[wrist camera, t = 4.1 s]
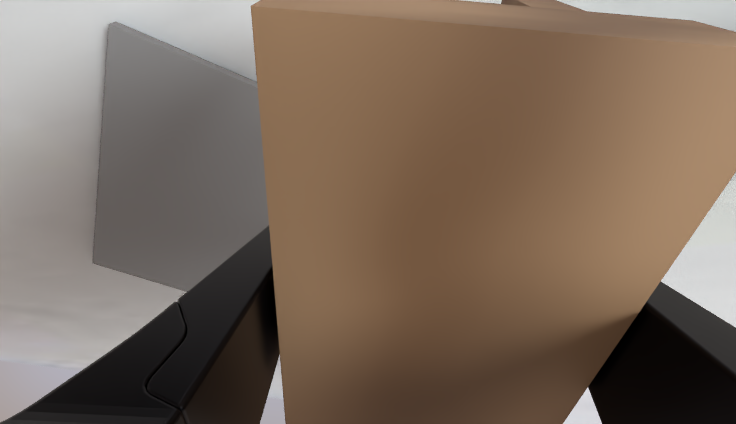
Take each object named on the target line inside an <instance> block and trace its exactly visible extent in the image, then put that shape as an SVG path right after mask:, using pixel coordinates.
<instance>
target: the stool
mask: <svg viewBox="0 0 736 424" xmlns="http://www.w3.org/2000/svg"><path fill="white" fill-rule="evenodd" d="M251 15H252V27H253V39H254V51H255V63H256V75H257V87H258V99H259V110H260V122H261V134H262V146H263V158H264V170H265V182H266V194H267V206H268V218H269V230H270V242H271V254H272V266H273V278H274V290H275V302H276V314H277V326H278V338H279V350H280V362H281V374H282V386H283V398H284V410H285V421H286V424H563V422H564V421H565V420H566V418H567V417H568V415H569V414H570V412H571V411H572V409H573V408H574V406H575V405H576V404H577V402H578V401H579V399H580V398H581V396H582V395H583V393H584V392H585V390H586V389H587V388H588V386H589V385H590V383H591V382H592V380H593V379H594V377H595V376H596V374H597V373H598V372H599V370H600V369H601V367H602V366H603V364H604V363H605V361H606V360H607V358H608V357H609V356H610V354H611V353H612V351H613V350H614V348H615V347H616V345H617V344H618V342H619V341H620V340H621V338H622V337H623V335H624V334H625V332H626V331H627V329H628V328H629V326H630V325H631V324H632V322H633V321H634V319H635V318H636V316H637V315H638V313H639V312H640V310H641V309H642V307H643V306H644V305H645V303H646V302H647V300H648V299H649V297H650V296H651V294H652V293H653V291H654V290H655V289H656V287H657V286H658V284H659V283H660V281H661V280H662V278H663V277H664V275H665V274H666V273H667V271H668V270H669V268H670V267H671V265H672V264H673V262H674V261H675V259H676V258H677V257H678V255H679V254H680V252H681V251H682V249H683V248H684V246H685V245H686V243H687V242H688V241H689V239H690V238H691V236H692V235H693V233H694V232H695V230H696V229H697V227H698V226H699V225H700V223H701V222H702V220H703V219H704V217H705V216H706V214H707V213H708V211H709V210H710V209H711V207H712V206H713V204H714V203H715V201H716V200H717V198H718V197H719V195H720V194H721V192H722V191H723V190H724V188H725V187H726V185H727V184H728V182H729V181H730V179H731V178H732V176H733V175H734V174H735V172H736V32H733V31H729V30H726V29H722V28H718V27H715V26H711V25H707V24H703V23H700V22H696V21H690V20H679V19H667V18H656V17H644V16H632V15H621V14H609V13H598V12H587V11H584V10H581V9H578V8H576V7H573V6H570V5H567V4H564V3H562V2H559V1H556V0H502V2H501V4H494V3H482V2H470V1H459V0H260V1H259V2H257V3H255V4H254V5H252V6H251Z"/></svg>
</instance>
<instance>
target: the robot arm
mask: <svg viewBox="0 0 736 424" xmlns="http://www.w3.org/2000/svg"><path fill="white" fill-rule="evenodd" d="M279 354H280V350H279V338H278V326H277V314H276V302H275V290H274V278H273V266H272V254H271V242H270V230H269V225H268V226H267V227H266V228H264V229H263V230H262V231H261V232H260V233H258V234H257V235H256V236H255V237H254V238H252V239H251V240H250V241H249V242H247V243H246V244H245V245H244V246H243V247H241V248H240V249H239V250H238V251H236V252H235V253H234V254H233V255H232V256H230V257H229V258H228V259H227V260H225V261H224V262H223V263H222V264H221V265H219V266H218V267H217V268H216V269H214V270H213V271H212V272H211V273H210V274H208V275H207V276H206V277H205V278H204V279H202V280H201V281H200V282H199V283H197V284H196V285H195V286H194V287H193V288H191V289H190V290H189V291H188V292H186V293H185V294H184V295H183V296H182V297H180V298H179V299H178V302H174V303H173V304H172V305H170V306H169V307H168V308H167V309H165V310H164V311H163V312H162V313H161V314H159V315H158V316H157V317H155V318H154V319H153V320H152V321H150V322H149V323H148V324H147V325H145V326H144V327H143V328H141V329H140V330H139V331H138V332H136V333H135V334H133V335H132V336H131V337H129V338H128V339H126V340H125V341H124V342H122V343H121V344H119V345H118V346H117V347H115V348H114V349H112V350H111V351H110V352H108V353H107V354H105V355H104V356H102V357H101V358H99V359H98V360H96V361H95V362H94V363H92V364H91V365H89V366H88V367H86V368H85V369H83V370H82V371H80V372H79V373H78V374H76V375H75V376H73V377H72V378H70V379H69V380H67V381H66V382H64V383H63V384H61V385H60V386H59V387H57V388H56V389H54V390H53V391H51V392H50V393H48V394H47V395H45V396H44V397H42V398H41V399H40V400H38V401H37V402H35V403H34V404H32V405H31V406H29V407H27V408H26V409H24V410H23V411H21V412H19V413H17V414H16V415H14V416H12V417H10V418H8V419H7V420H5V421H3V422H0V424H260V420H261V417H262V414H263V409H264V406H265V403H266V400H267V396H268V393H269V389H270V386H271V382H272V379H273V375H274V372H275V368H276V365H277V361H278V358H279ZM588 388H589V390H590V393H591V396H592V398H593V401H594V403H595V406H596V409H597V411H598V414H599V417H600V419H601V422H602V424H736V328H735V327H734V326H732V325H730V324H729V323H727V322H725V321H724V320H722V319H721V318H719V317H717V316H716V315H714V314H712V313H711V312H709V311H708V310H706V309H704V308H703V307H701V306H699V305H698V304H696V303H695V302H693V301H691V300H690V299H688V298H687V297H685V296H683V295H682V294H680V293H678V292H677V291H675V290H674V289H672V288H670V287H669V286H667V285H665V284H664V283H662V282H661V281H660V283H659V284H658V286H657V287H656V289H655V290H654V291H653V293H652V294H651V296H650V297H649V299H648V300H647V302H646V303H645V305H644V306H643V307H642V309H641V310H640V312H639V313H638V315H637V316H636V318H635V319H634V321H633V322H632V324H631V325H630V326H629V328H628V329H627V331H626V332H625V334H624V335H623V337H622V338H621V340H620V341H619V342H618V344H617V345H616V347H615V348H614V350H613V351H612V353H611V354H610V356H609V357H608V358H607V360H606V361H605V363H604V364H603V366H602V367H601V369H600V370H599V372H598V373H597V374H596V376H595V377H594V379H593V380H592V382H591V383H590V385H589V386H588Z"/></svg>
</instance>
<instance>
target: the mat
mask: <svg viewBox="0 0 736 424" xmlns="http://www.w3.org/2000/svg"><path fill="white" fill-rule="evenodd" d="M268 225H269V218H268V206H267V194H266V182H265V170H264V158H263V146H262V134H261V122H260V110H259V99H258V87H257V82H255V81H252V80H250V79H248V78H245V77H243V76H241V75H239V74H236V73H234V72H232V71H229V70H227V69H225V68H222V67H220V66H218V65H215V64H213V63H211V62H208V61H206V60H204V59H201V58H199V57H197V56H194V55H192V54H190V53H187V52H185V51H183V50H180V49H178V48H176V47H174V46H171V45H169V44H167V43H164V42H162V41H160V40H157V39H155V38H153V37H150V36H148V35H146V34H143V33H141V32H139V31H136V30H134V29H132V28H129V27H127V26H125V25H122V24H120V23H118V22H113V23H110V24H109V28H108V43H107V57H106V72H105V87H104V101H103V116H102V131H101V145H100V160H99V175H98V189H97V204H96V219H95V233H94V248H93V263H94V264H97V265H100V266H104V267H107V268H110V269H114V270H117V271H120V272H124V273H127V274H130V275H134V276H137V277H140V278H144V279H147V280H150V281H153V282H157V283H160V284H163V285H167V286H170V287H173V288H177V289H180V290H183V291H187V292H188V291H189V290H190V289H191V288H193V287H194V286H195V285H196V284H197V283H199V282H200V281H201V280H202V279H204V278H205V277H206V276H207V275H208V274H210V273H211V272H212V271H213V270H214V269H216V268H217V267H218V266H219V265H221V264H222V263H223V262H224V261H225V260H227V259H228V258H229V257H230V256H232V255H233V254H234V253H235V252H236V251H238V250H239V249H240V248H241V247H243V246H244V245H245V244H246V243H247V242H249V241H250V240H251V239H252V238H254V237H255V236H256V235H257V234H258V233H260V232H261V231H262V230H263V229H264V228H266V227H267V226H268Z"/></svg>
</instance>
